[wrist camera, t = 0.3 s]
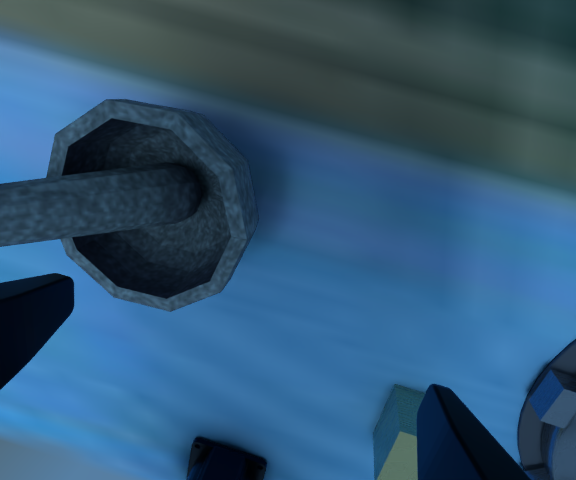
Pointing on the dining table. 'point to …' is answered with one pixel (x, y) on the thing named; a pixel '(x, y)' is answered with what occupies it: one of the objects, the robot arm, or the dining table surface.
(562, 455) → the sprocket
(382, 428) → the link block
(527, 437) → the base mat
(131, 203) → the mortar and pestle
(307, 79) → the dining table surface
